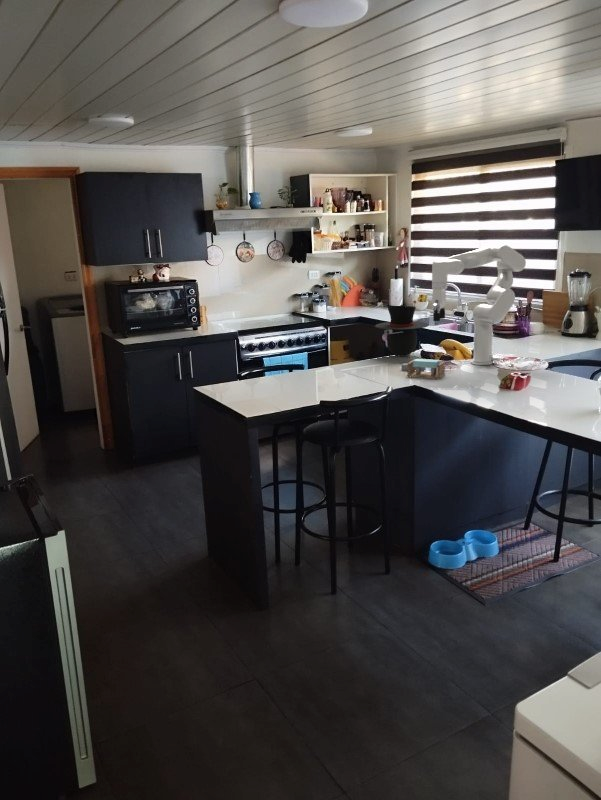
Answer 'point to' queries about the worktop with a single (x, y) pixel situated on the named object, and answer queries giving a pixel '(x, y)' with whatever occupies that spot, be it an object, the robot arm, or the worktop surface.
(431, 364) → the shelf board
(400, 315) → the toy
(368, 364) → the worktop surface
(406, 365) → the riser
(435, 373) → the peg cradle
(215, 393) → the worktop surface
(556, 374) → the worktop surface
